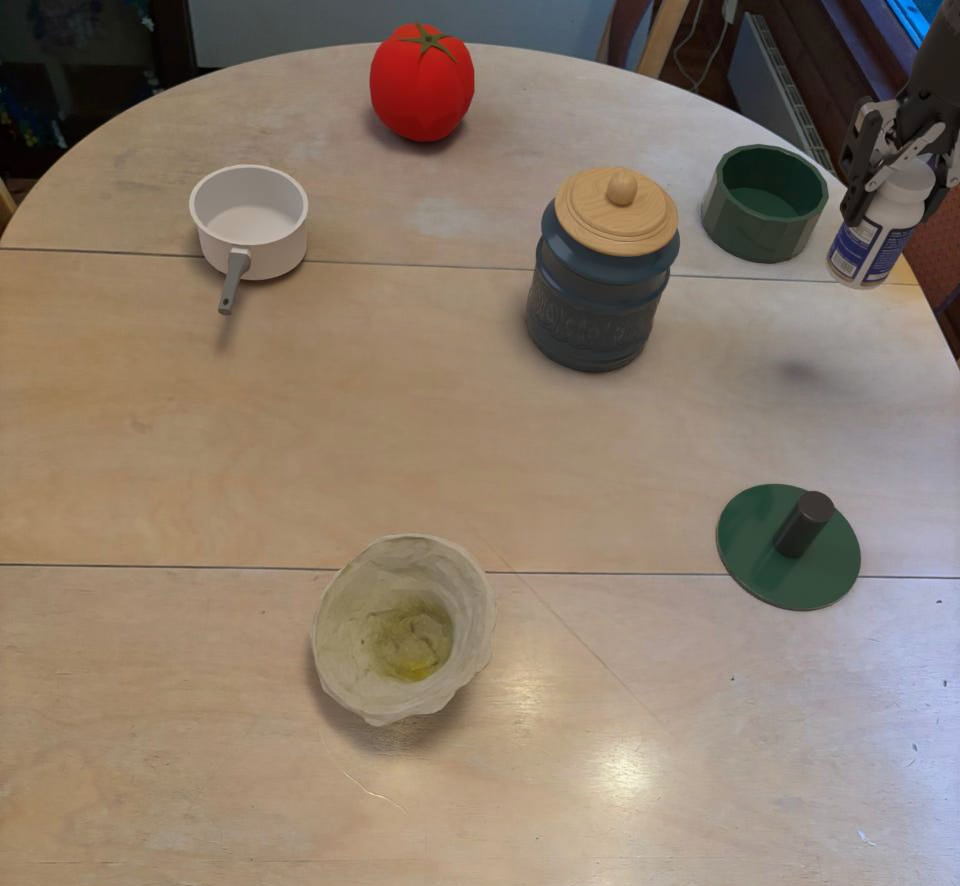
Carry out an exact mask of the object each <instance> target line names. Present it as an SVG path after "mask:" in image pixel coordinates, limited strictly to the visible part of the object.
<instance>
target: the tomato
mask: <svg viewBox="0 0 960 886" xmlns="http://www.w3.org/2000/svg"><path fill="white" fill-rule="evenodd" d="M414 20H415V23H407V24H404V25H400V26H398V27H396V28H395V29H394V31H393V33H392V34H391V35H390V36H389V38H388V39H387V40H383V41H382V42H381V43H380V45H378V47H377V48H376V50H375V53H374V55H373V58H372V61H371V63H370V70H369V78H368V79H369V81H368V82H369V84H368V85H369V93H370V101H371V106H372V109H373V110H374V113H375V115H376V116H377V117H378V118H379V120H380V121H381V122H382V123H383V125H384V126H385V127H387V128H388V129H390V130H391V131H392V132H394V133H396V134H397V135H399V136H400V137H403V138H406V139H409V140H412V141H414V142H436V141H438V140H442V139H444V138H446V137H447V136H449V134H450V133H451V132H453V131H454V130H455V129H456V127H457V126H458V125H459V123H461V121H462V119H463V118H464V117H465V116H466V114H467V113H468V111H469V108H470V106H471V103H472V100H473V98H474V96H475V92H476V91H475V90H476V89H475V88H476V87H475V84H476V83H475V79H476V78H475V67H474V63H473V60H472V56H471V53H470V50H469V49H468V48H467V46H466V45H465V42H464V41H463V39H461V38H457V37H454V35H448V34H445V33H443V32H441V31H440V30H439V29H438V28H436V27H435V26H433V25H431V24H421V23H420V22H419V21H418V20H417V18H414Z"/></svg>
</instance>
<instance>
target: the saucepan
mask: <svg viewBox="0 0 960 886" xmlns="http://www.w3.org/2000/svg"><path fill="white" fill-rule="evenodd" d="M188 207H189V213H190V215H191V218H192V219H193V222H195V223H196V227H197V232H198V237H199V243H200V247H201V252H202V254H203V256H204V258H205V259H206V261H208V263H209V264H210V265H211V266H212V267H213V268H214V269H215V270H217V271H219V272H220V273H223V274H225V275H226V276H225V279H224V284H223V288H222V291H221V295H220V299H219V302H218V306H217V312H218V314H220V315H221V316H226V317H227V316H231V315H232V312H233V308H234V304H235V300H236V297H237V293H238V290H239V286H240V282H241V280H245V281H249V280H250V281H262V280H269V279H274V278H277V277H279V276H283V275H285V274H286V273H289V272H290V271H291V270H294V269H295V268H296V267H297V266H298V265H299V264H300V263H301V262H302V261H303V259H304V257H305V255H306V252H307V250H308V231H307V221H306V219H307V214H308V212H309V200H308V195H307V193H306V191H305V189H304V188H303V186H302V185H301V184H300V182H298V181H297V179H294V178H293V177H292V176H290V175H289V174H288V173H286V172H284V171H281V170H280V169H276V168H274V167H271V166H266V165H260V164H248V163H247V164H235V165H230V166H226V167H223V168H220V169H217V170H215V171H213V172H211V173H209V174H207V175H205V176H204V177H203V178H202V179H200V180H199V181H198V182H197V183H196V185H195V186H194V188H193V189H192V191H191V193H190V196H189V200H188Z"/></svg>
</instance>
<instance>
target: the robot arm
mask: <svg viewBox="0 0 960 886" xmlns="http://www.w3.org/2000/svg"><path fill="white" fill-rule="evenodd" d="M895 140H897V141H898V143H899V145H900V147H901V148H900V149H899V150H898V149H897V147H896V146H895ZM839 153H840V154H839V156H838V158H837V159H838V160H837V164H838V167H840V169H841V171H842V174H843V176H844V177H845V179H846V182H847V183H848V185H849V186H848V188H847V190H846V191H845V193H844V196H843V198H842V199H841V202H840V204H839V211H840V213H841V217H842V219H843V221H845V223H846V225H847V227H858V226H859V224H860V223H861V221H862V219H863V217H864V215H865V213H866V211H867V210H868V208H869V206H870V204H871V202H872V200H873V198H874V197H875V195H876V193H877V190H876V189H877V188H878V187H879V186H880V185H881V184H882V183H883V182H884V181H885V180H886V179H887V178H888V177H889V176H890V175H891V174H892V173H893V172H894V171H900V170H902V169H903V168H904V167H905V166H906V165H907V164H908V163H909V162H910V161H911V160H912V159H913V158H914V157H915V158H916V157H917V156H919V157H920V156H923V155H927V154H932V155H935V162H934V167H935V169H932V170H933V172H934V174H935V178H936V180H935V184H934V186H933V188H932V190H931V192H930V194H929V196H928V197H927V198H926V199H925V200H924V213H923V216H922V218H921V220H920V222H919V224H918V225H920V224H921V225H922V224H926V223H927V222H928V221H929V220H930V217H933V216H934V214H936V213H937V212H938V210H939V209H940V207H941V205H942V203H943V202H944V200H945V198H946V197H947V196H948V194H949V192H950V190H951V189H952V188H954V187H957V185H959V184H960V0H942V2H941V3H940V6H939V8H938V10H937V12H936V14H935V16H934V18H933V19H932V21H931V24H930V26H929V28H928V29H927V31H926V34H925V36H924V37H923V40H922V42H921V43H920V45H919V48H918V50H917V51H916V53H915V56H914V58H913V63H912V68H911V72H910V75H909V79H908V81H907V82H906V84H904V86H903V87H902V88H901V89H900V90H899V91H898V92H897V93H896V94H895V95H894V97H893V99H888V100H882V101H878V102H874V100H873V99H872V97H871V95H864V96H862V97H860V98H859V99H858V100H857V101H856V103H855V106H854V109H853V112H852V115H851V118H850V121H849V125H848V128H847V131H846V134H845V137H844V141H843V144H842V146H841V149H840V152H839ZM882 160H883V161H882ZM880 161H882V163H881V164H880V163H879V162H880ZM878 163H879V164H880V165H879V164H878ZM877 164H878V166H877V167H876V168H874V167H875V166H876V165H877Z"/></svg>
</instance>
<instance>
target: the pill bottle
mask: <svg viewBox="0 0 960 886" xmlns="http://www.w3.org/2000/svg"><path fill="white" fill-rule="evenodd" d="M882 161H883V159H881V160H880V161H879V164H878V166H879V165H880V164H881V163H882ZM933 170H934V169H932V168H931V166H930V165H929V164H928V163H926V162H925V161H923V160H922V159H920V158H917V157H916V156H915V157H914V158H913V159H912V160H911V161H910V162H909V163H908V164H907V165H906V166H905V167H904V168H903V169H902V170H900V171H894V172H893V173H892V174H891V175H890V176H889V177H888V178H887V179H886V180H885V181H884V182H883V183H882V184H881V185H880V186H879V187H878V188H877V189H876V190H877V193H876V195H875V197H874V198H873V200H872V202H871V204H870V206H869V208H868V210H867V211H866V213H865V215H864V217H863V219H862V221H861V223H860V224H859V226H858V227H847V225H846V223H845V221H844V220H843V221H842V223H841V225H840V227H839V229H838V231H837V233H836V234H835V237H834V239H833V241H832V243H831V245H830V247H829V249H828V251H827V253H826V255H825V266H826V271H827V272H828V274H829V275H830V276H831V277H832V278H833V279H834V280H835V281H836V282H837V283H839V284H840V285H842V286H843V287H847V288H849V289H853V290H857V291H869V290H873V289H876V288H878V287H880V286H881V285H882V284H884V282H885V281H886V280H887V279H888V276H890V273H891V271H892V270H893V268H894V266H895V265H896V263H897V262H898V260H899V258H900V256H901V254H902V253H903V251H904V249H905V247H906V246H907V243H908V242H909V241H910V239H911V237H912V236H913V234H914V232H915V230H916V228H917V227H918V225H920V224H919V222H920V220H921V218H922V216H923V213H924V200H925V199H926V198H927V197H928V196H929V194H930V192H931V190H932V188H933V186H934V184H935V180H936V178H935V174H934V172H933Z"/></svg>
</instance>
